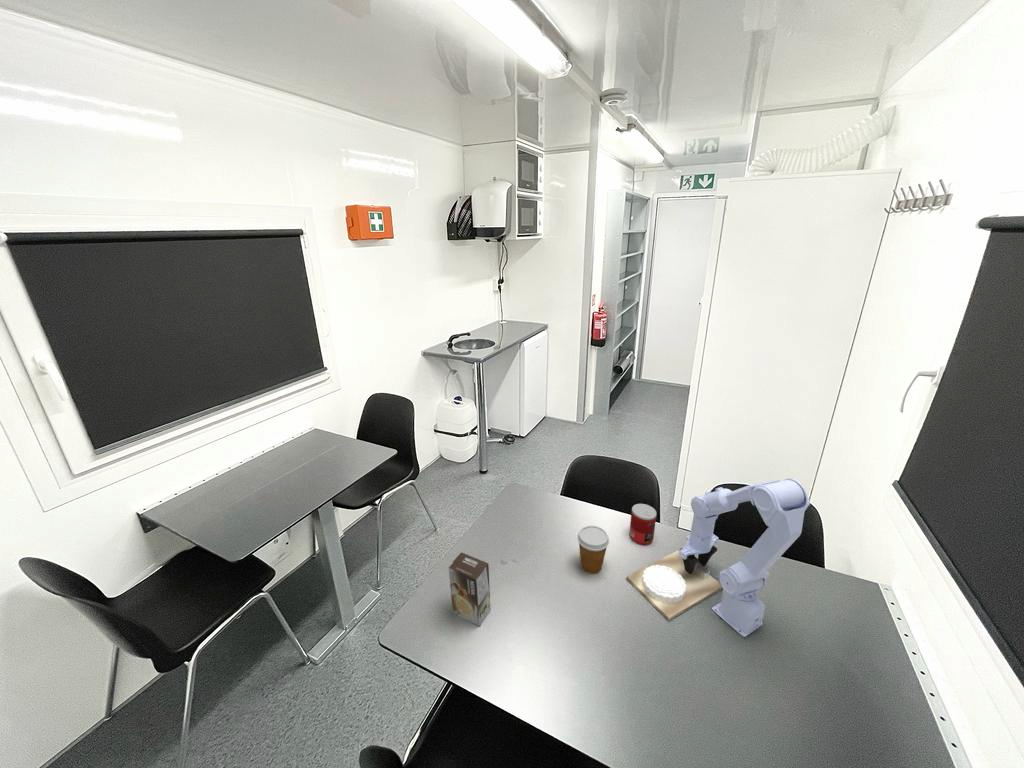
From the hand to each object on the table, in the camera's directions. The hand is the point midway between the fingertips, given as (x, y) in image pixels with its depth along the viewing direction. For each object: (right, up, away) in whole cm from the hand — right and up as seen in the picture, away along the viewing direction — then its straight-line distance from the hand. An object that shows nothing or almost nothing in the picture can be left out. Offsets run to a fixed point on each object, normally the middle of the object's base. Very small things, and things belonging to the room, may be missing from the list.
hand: (695, 568), depth 121 cm
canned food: (-12, +3, +15) cm, 19 cm away
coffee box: (-67, -7, -11) cm, 68 cm away
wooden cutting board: (-8, -3, -3) cm, 9 cm away
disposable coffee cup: (-31, -1, +3) cm, 31 cm away
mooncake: (-12, -4, -5) cm, 13 cm away
